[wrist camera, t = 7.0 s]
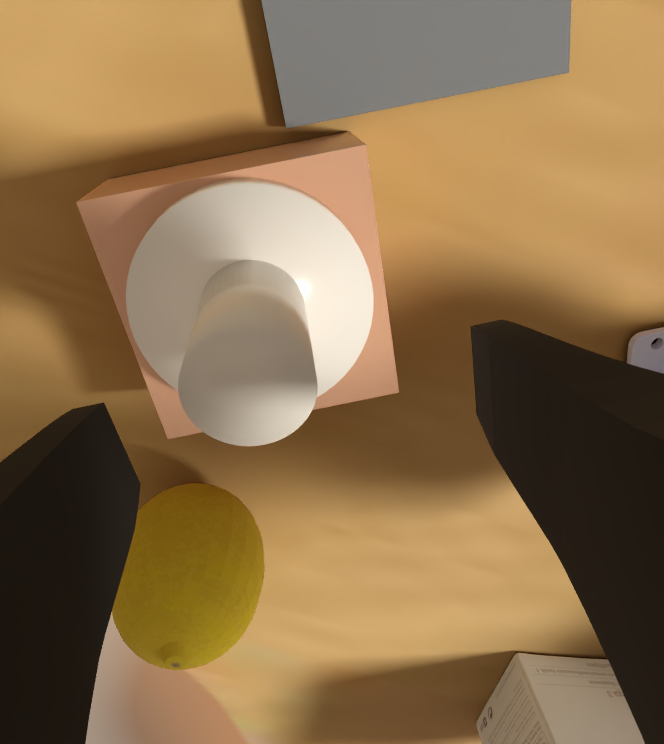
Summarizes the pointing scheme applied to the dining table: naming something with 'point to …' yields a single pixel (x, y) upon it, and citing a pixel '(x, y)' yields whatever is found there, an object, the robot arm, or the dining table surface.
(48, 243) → the dining table surface
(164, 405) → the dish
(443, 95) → the mat
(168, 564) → the lemon
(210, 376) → the lid
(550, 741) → the supplement box
